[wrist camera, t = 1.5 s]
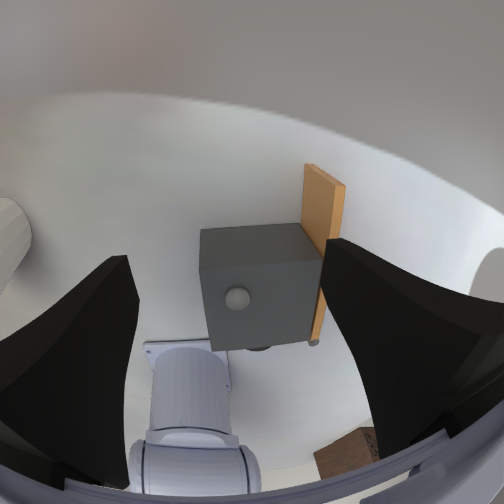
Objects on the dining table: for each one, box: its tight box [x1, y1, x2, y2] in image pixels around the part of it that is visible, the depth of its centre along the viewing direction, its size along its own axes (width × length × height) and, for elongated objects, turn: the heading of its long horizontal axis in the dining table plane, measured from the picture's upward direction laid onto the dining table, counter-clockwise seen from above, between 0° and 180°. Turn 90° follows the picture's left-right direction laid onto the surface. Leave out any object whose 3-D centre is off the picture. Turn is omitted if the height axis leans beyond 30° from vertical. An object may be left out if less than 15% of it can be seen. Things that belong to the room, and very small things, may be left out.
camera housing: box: [199, 223, 323, 352], centre depth 19 cm, size 8×7×6 cm
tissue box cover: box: [313, 427, 380, 480], centre depth 51 cm, size 26×14×10 cm, turn 53°
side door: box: [301, 164, 346, 346], centre depth 19 cm, size 12×1×5 cm, turn 0°
